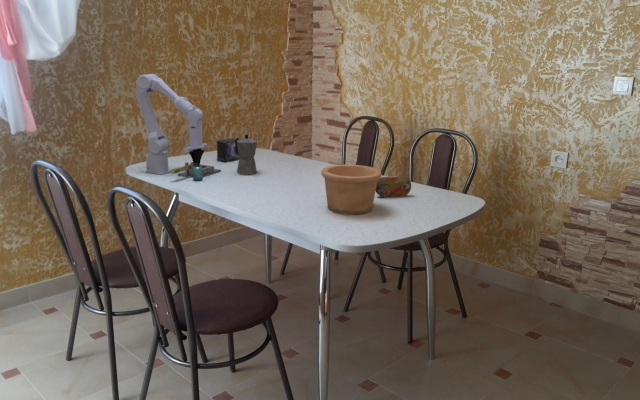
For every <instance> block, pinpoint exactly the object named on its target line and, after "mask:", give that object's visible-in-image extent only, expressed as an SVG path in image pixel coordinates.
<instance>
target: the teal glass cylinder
mask: <svg viewBox="0 0 640 400" xmlns="http://www.w3.org/2000/svg"><path fill="white" fill-rule="evenodd" d="M192 180H193V181H194V182H203V180H204V177H203V174H202V166H193V177H192Z"/></svg>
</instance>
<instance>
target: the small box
mask: <svg viewBox="0 0 640 400" xmlns="http://www.w3.org/2000/svg"><path fill="white" fill-rule="evenodd" d="M235 140H236V138H226V139H219V140H217V141H216V161H218V162H221V163H229V162H234V161H239V159H240V156H239V155H238V154H237V150H236V145H235Z"/></svg>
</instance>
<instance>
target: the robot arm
mask: <svg viewBox="0 0 640 400" xmlns="http://www.w3.org/2000/svg"><path fill="white" fill-rule="evenodd" d="M135 84H136V88H135V98H136V101H137V104H138V107H139V111H140V113H141V116H142V119H143V121H144V125H145V127H146V130H147V133H148V136H147V143H148V145H147V147H148V150H149V152H147V153H146V156H145V166H146V170H145V173H150V174H157V175H164V174H167V173H170V172H171V170H172V169H169V157H168V156H169V154H168V152H169V151H168V149H169V148H170V141H169V139H168V138H167V137H166V136H165V133H164V132H163V131H162V130H161V128H160V125H159V122H158V120H157V119H158V118H157V116H156V114H155V111H154V108H153V105H152V102H151V101H152V100H151V99H150V96H151V94H152V92H153V91H158V92H161V93H162V94H163V95H164V96H165V97H167V99H169V100H171V102H173V106H174V108H175V109H177V111H179V112H180V113H182V114H183V115H184V116H185V119H186V120H187V122H188V137H189V138H188V139H189V140H188V142H189V145H188V146H186V147H184V148H183V152H184V153H188V154H189V156H190V157H191V160H192V162H197V163H198V166H199V165H200V164H201V160H202V156H203V155H204V152H205V150H204V149H207V148H208V147H209V146H208V143H206V142H205V143H203V124H202V123H203V121H202V120H203V118H204V112H203V111H202V109H201V108H199V107H196V105H193V103H191V102H190V101H188V100H189V99H188V98H187V97H186V96H185V97H184V96H179V95H178V94H177V93H176V92H175V91H174V90H173V89H171V87H170V86H169V85H167V83H165V81H164V80H163V79H162V78H161V77H159V76H158V75H157V74H155V73H148V74H141V75H139V76H138V77H137V79H136V81H135Z"/></svg>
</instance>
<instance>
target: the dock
mask: <svg viewBox="0 0 640 400" xmlns="http://www.w3.org/2000/svg"><path fill="white" fill-rule="evenodd" d="M190 163H191V162H190ZM185 165H189V162H187V161H186V162H184V166H185ZM193 166H194V163H191V169H188V170H185V171H182V172H178V173H177V174H178V176H180V177H186V178H193ZM199 166H202V174H203V178H206V177H209V176H212V175H214V174H218V173H220V172H222V170H221V169H217V168H215V166H214V165H207V164H201V163H200V165H199Z"/></svg>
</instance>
